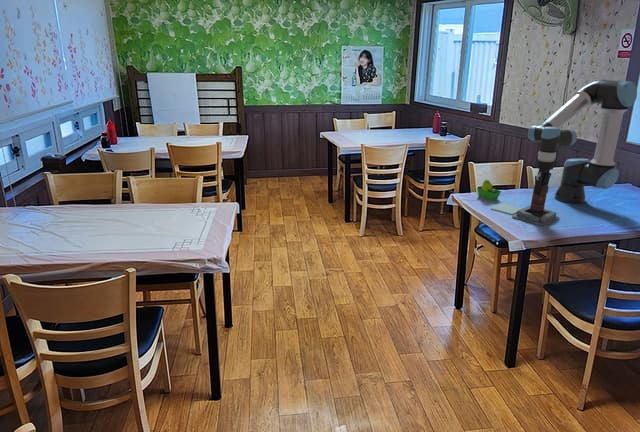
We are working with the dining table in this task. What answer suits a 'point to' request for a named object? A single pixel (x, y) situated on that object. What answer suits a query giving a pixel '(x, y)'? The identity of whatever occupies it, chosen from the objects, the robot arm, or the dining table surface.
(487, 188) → the fruit basket
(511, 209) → the mat
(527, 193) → the dining table surface
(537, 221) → the socket block
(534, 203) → the can
